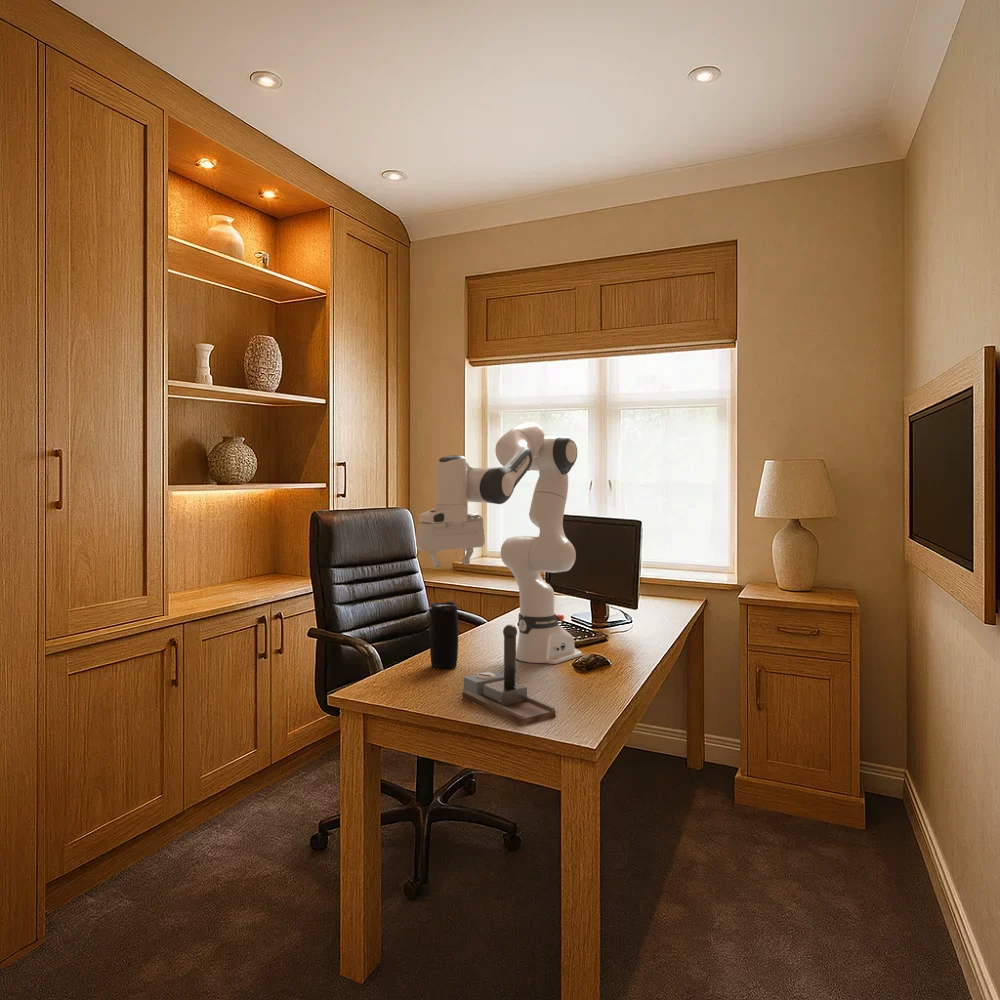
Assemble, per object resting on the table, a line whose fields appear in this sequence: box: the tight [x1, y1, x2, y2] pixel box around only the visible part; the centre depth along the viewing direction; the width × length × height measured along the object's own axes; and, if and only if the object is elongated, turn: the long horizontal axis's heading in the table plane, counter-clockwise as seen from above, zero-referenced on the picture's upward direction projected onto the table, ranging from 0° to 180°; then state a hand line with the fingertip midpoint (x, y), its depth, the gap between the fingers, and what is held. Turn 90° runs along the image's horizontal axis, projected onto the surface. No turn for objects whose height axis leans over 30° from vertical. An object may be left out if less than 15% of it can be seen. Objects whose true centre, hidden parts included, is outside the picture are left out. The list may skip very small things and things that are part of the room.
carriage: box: [483, 624, 528, 706], centre depth 177 cm, size 8×8×20 cm
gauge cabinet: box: [463, 670, 504, 696], centre depth 184 cm, size 10×6×5 cm, turn 126°
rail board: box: [461, 688, 557, 727], centre depth 176 cm, size 11×25×2 cm, turn 36°
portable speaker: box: [429, 601, 459, 670], centre depth 212 cm, size 9×9×20 cm
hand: (451, 565), depth 189 cm, fingers open, 8 cm apart
